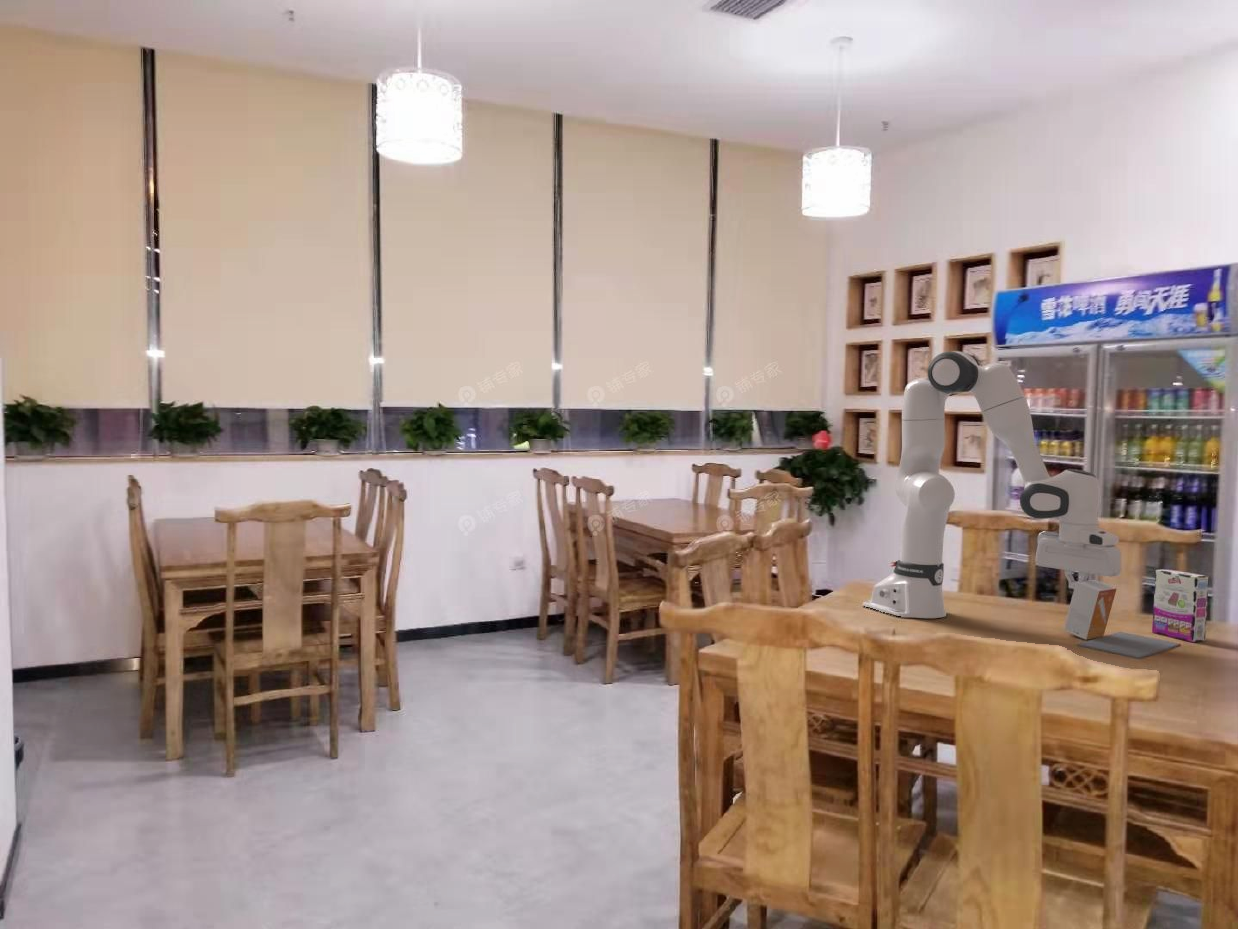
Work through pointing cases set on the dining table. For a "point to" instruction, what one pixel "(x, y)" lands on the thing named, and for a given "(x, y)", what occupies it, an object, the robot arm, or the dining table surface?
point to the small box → (1089, 609)
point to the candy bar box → (1180, 605)
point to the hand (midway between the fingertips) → (1075, 589)
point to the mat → (1129, 645)
